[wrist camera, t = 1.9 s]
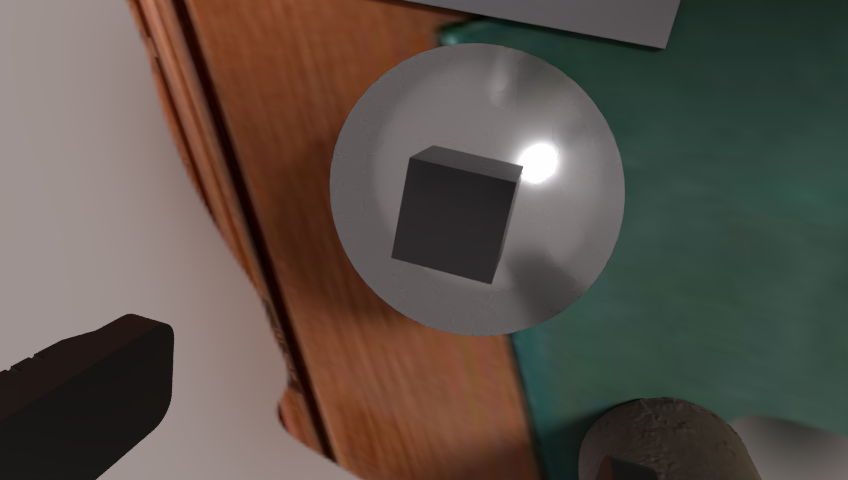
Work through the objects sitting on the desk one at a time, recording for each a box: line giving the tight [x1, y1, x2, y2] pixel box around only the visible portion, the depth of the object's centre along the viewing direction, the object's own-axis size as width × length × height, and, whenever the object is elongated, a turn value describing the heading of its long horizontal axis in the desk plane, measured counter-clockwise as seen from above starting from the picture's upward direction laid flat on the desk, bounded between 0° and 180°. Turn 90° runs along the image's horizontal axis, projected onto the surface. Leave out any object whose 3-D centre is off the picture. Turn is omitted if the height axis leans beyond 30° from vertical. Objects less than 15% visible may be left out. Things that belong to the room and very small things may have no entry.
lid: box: [330, 43, 625, 336], centre depth 23 cm, size 13×13×5 cm
